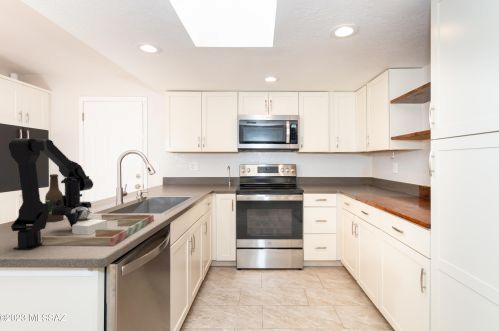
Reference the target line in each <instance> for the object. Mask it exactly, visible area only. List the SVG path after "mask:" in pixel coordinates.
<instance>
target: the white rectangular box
mask: <svg viewBox="0 0 499 331" xmlns="http://www.w3.org/2000/svg"><path fill="white" fill-rule="evenodd" d="M71 229H72V231H71V232H72V234H76V235H85V236H86V235H88V236H89V235H91V234H95V230H96V229H108V220H102V219H95V218H94V219H90V220H88V219H87V220H85V221H82V222H79V223H78V222H77V223H76V224H74V225H72V227H71Z"/></svg>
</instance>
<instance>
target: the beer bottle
mask: <svg viewBox="0 0 499 331" xmlns="http://www.w3.org/2000/svg"><path fill="white" fill-rule="evenodd" d="M59 185H60V184H59V174H56V173H54V174H53V173H51V174H49V188H48V191H47V193H46V194H45V196H44V203H47V204H48V211H49V214H48V219H47V223H54V222H60V221H64V216H65V215H51V210H52V209H53V207H50V206H49V201H50V200H52V199H56V200H60V199H62V195H64V194H63V193H62V191H61V190H60V186H59Z"/></svg>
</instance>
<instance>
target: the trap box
mask: <svg viewBox="0 0 499 331" xmlns="http://www.w3.org/2000/svg"><path fill="white" fill-rule="evenodd" d="M154 216H155V215H154V214H114V213H113V214H111V213H109V214H108V213H107V214H106V213H105V214H104V213H103V214H101V216H100V218H101V220H107V222H109V221H110V220H118V221H117V227H127V228H126V229H119V228H118V229H116V228H115V229H114V228H113V229H112V228H111V229H110V228H109V229H108V228H106V229H96V230H95V232H94V234H95V235H94V236H60V235H59V236H58V235H57V236H51V235H49V236H48V235H44V236H41V242H42V245H41V246H87V247H89V246H90V247H91V246H98V247H99V246H101V247H102V246H105V247H107V246H109V247H113V246H115V245H117V244H118V243H120V242H122V241H123V240H125V239H127V238H128V237H130V236H131V235H132V234H135V233H136V232H137V231H139V230H140V229H142V228H144V227H145V226H148V225H149V224H150V223H152V222H154V220H155V219H154Z"/></svg>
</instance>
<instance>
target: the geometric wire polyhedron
mask: <svg viewBox="0 0 499 331" xmlns="http://www.w3.org/2000/svg"><path fill="white" fill-rule="evenodd" d="M80 209H81V210H84V211H83V212H82V214H81V216H80V217H79V219H78V220H85V221H88V219H87V218H88V217H89V216H90V214H92V212H91V210H90V208H86V207H82V208H80Z"/></svg>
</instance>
